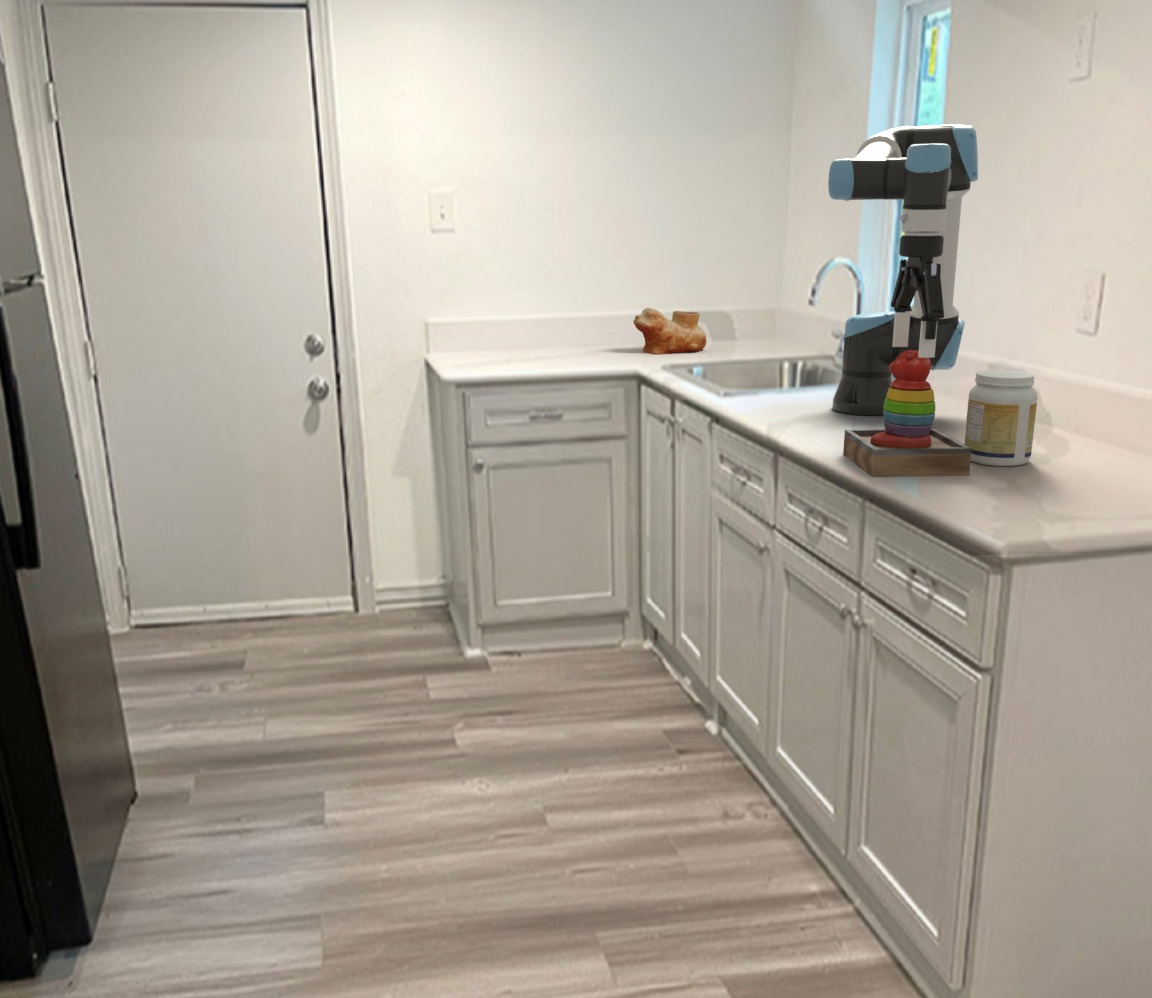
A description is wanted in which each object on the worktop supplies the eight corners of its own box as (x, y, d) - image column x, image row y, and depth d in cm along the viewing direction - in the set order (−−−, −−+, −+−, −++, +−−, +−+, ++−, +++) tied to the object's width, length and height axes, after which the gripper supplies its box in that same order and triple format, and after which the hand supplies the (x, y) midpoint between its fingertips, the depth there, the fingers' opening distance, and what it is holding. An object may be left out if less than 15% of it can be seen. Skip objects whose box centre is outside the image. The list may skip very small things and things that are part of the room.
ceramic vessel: (626, 350, 360) (627, 306, 356) (696, 347, 368) (697, 304, 364) (641, 356, 348) (641, 310, 344) (713, 352, 355) (714, 307, 351)
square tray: (843, 454, 208) (844, 429, 207) (931, 452, 209) (934, 428, 208) (872, 476, 191) (874, 449, 190) (969, 474, 192) (971, 448, 191)
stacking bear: (895, 435, 206) (902, 344, 202) (943, 443, 199) (951, 349, 195) (865, 443, 199) (872, 350, 194) (914, 452, 192) (923, 355, 187)
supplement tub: (999, 451, 210) (1008, 367, 206) (1044, 464, 200) (1055, 375, 195) (949, 456, 206) (957, 370, 202) (992, 470, 195) (1002, 379, 191)
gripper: (879, 231, 200) (871, 342, 206) (927, 237, 177) (917, 362, 183) (917, 231, 201) (908, 342, 207) (971, 236, 177) (959, 361, 183)
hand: (912, 352), depth 195 cm, fingers open, 13 cm apart
